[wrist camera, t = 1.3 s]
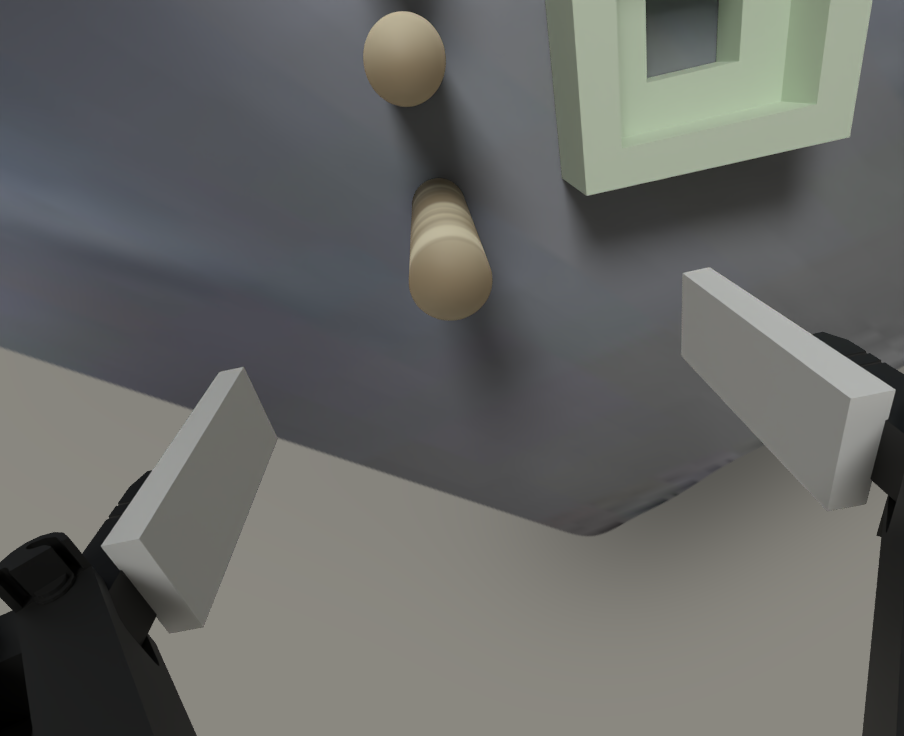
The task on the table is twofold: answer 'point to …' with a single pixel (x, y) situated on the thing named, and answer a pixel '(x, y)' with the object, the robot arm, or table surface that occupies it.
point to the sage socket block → (700, 88)
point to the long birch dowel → (446, 254)
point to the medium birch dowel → (404, 59)
